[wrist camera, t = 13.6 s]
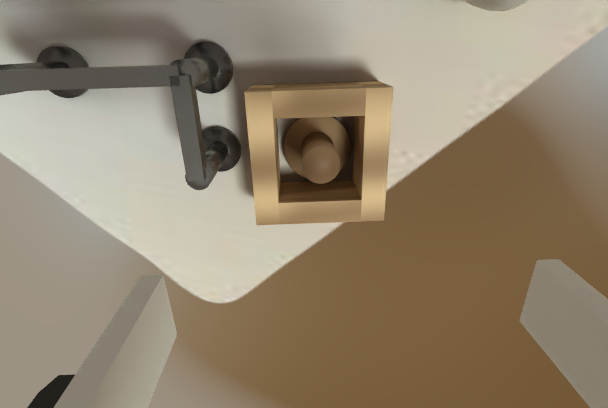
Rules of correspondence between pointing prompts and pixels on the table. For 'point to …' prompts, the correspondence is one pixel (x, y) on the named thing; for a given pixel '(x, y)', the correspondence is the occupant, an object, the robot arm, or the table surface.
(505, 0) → the donut
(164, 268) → the table surface
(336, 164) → the peg stand
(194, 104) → the gray metal stand
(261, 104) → the wooden square frame
